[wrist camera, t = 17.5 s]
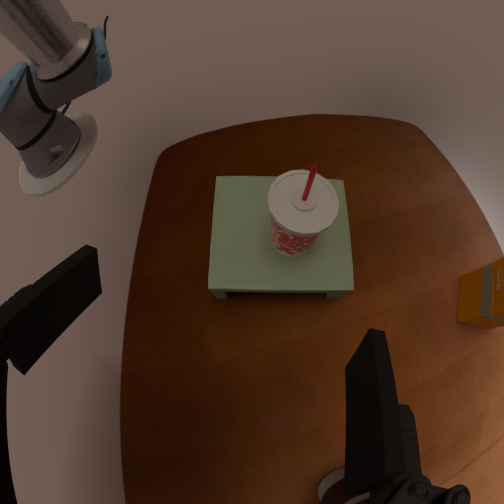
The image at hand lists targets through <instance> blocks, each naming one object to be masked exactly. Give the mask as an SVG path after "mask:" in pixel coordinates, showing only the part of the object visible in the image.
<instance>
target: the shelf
mask: <svg viewBox="0 0 504 504" xmlns="http://www.w3.org/2000/svg"><path fill="white" fill-rule="evenodd" d="M277 178H278V177H271V176H217V177H216V187H215V198H214V209H213V221H212V234H211V247H210V262H209V278H208V289H209V290H210V291H211V292H212V293H213V295H214V296H215V297H216V298H224V299H227V298H228V292H280V293H326V294H327V300H328V299H339V298H340V297H342V296H344V295H346V294H348V293H349V292H351V291H353V290H354V277H353V263H352V251H351V240H350V230H349V221H348V212H347V204H346V197H345V190H344V183H343V180H334V179H326V180H328V181H329V182H330V184H331V185H332V186H333V188H334V189H335V190H336V193H337V197H338V200H339V208H338V214H337V217H336V218H335V220H334V221H333V222H332V224H331V225H330V226H329V228H328V229H327V230H325V231H323V232H321V233H320V235H319V236H318V237H317V239H316V240H315V241H314V242H313V244H312V245H311V246H310V247H309V249H308V250H307V251H306V252H305V253H304V254H302V255H300V256H298V257H287V256H284V255H282V254H280V253H279V252H278V251H276V249H275V248H274V246H273V244H272V240H271V215H270V214H269V208H268V202H267V201H268V200H267V196H268V193H269V190H270V186H271V184H272V183H273V182H274V181H275V180H276V179H277Z"/></svg>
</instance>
